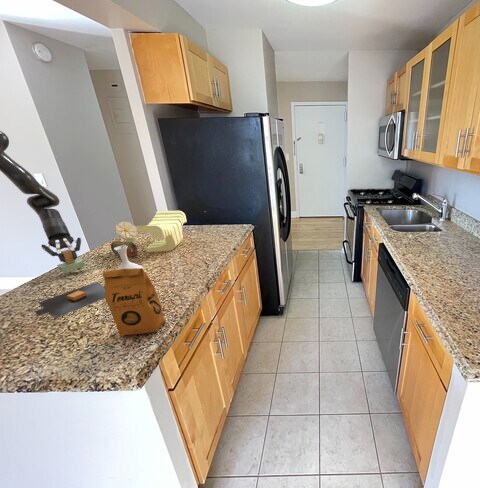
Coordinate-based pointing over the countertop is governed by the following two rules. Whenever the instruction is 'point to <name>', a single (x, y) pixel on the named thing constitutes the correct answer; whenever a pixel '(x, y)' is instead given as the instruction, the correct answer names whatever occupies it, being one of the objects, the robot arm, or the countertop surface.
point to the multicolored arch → (130, 249)
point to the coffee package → (133, 301)
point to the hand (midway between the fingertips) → (69, 260)
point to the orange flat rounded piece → (76, 295)
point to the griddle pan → (64, 305)
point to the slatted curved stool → (165, 230)
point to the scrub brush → (69, 262)
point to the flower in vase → (126, 232)
